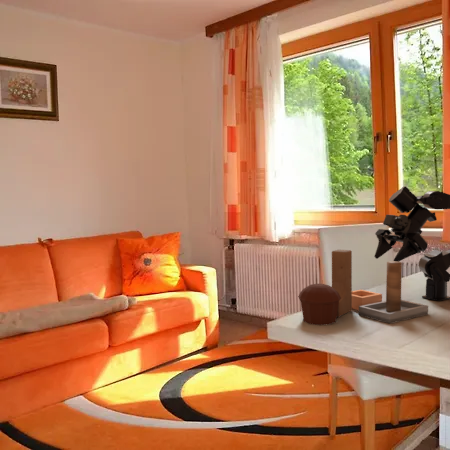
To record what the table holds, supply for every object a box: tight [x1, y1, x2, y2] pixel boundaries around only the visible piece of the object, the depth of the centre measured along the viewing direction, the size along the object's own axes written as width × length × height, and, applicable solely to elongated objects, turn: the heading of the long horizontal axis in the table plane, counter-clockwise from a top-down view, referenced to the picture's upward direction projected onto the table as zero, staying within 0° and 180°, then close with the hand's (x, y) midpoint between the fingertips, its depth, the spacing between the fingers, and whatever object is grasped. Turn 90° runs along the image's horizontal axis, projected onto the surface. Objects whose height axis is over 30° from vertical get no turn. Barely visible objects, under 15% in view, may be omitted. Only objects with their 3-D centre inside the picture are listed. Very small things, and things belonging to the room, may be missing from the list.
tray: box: [358, 299, 429, 324], centre depth 145 cm, size 16×11×2 cm
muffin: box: [298, 283, 341, 326], centre depth 140 cm, size 12×11×10 cm
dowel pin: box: [385, 260, 403, 313], centre depth 145 cm, size 4×4×14 cm
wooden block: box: [331, 249, 353, 318], centre depth 148 cm, size 9×4×18 cm, turn 143°
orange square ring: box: [352, 289, 383, 311], centre depth 155 cm, size 8×8×4 cm
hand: (384, 259), depth 159 cm, fingers open, 9 cm apart
